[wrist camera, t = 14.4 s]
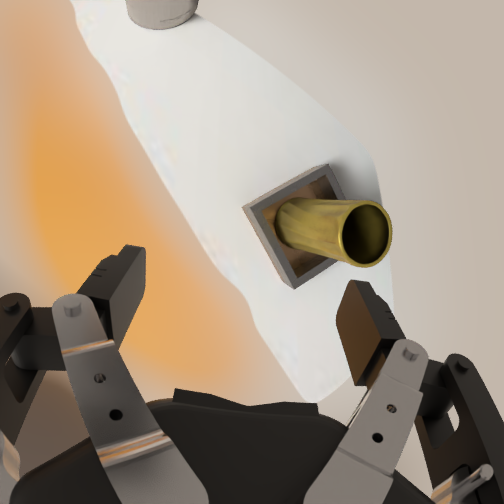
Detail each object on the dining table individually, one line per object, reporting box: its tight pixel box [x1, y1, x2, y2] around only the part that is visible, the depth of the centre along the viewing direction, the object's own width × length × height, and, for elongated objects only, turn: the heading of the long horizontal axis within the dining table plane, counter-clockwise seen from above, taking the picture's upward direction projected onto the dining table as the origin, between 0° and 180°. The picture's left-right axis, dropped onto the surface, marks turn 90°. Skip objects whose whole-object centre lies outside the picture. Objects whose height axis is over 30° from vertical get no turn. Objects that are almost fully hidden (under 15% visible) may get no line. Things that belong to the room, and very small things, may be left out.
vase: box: [275, 197, 392, 268], centre depth 30 cm, size 6×6×14 cm
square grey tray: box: [242, 164, 346, 289], centre depth 36 cm, size 10×10×4 cm
